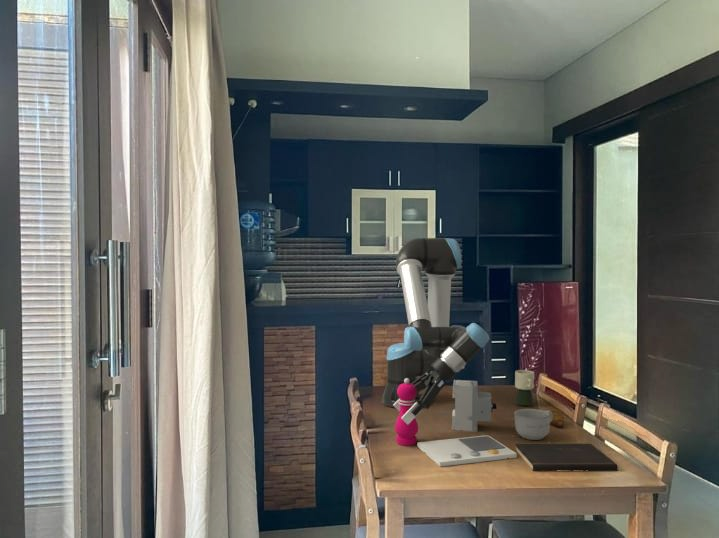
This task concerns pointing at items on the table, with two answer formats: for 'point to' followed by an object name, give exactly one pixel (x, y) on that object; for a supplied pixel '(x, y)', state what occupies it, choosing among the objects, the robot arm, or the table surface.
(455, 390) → the circuit breaker
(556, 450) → the hardcover book
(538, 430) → the teacup
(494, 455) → the board
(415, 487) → the table surface
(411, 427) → the pepper mill
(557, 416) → the croissant
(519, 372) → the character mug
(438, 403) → the table surface
